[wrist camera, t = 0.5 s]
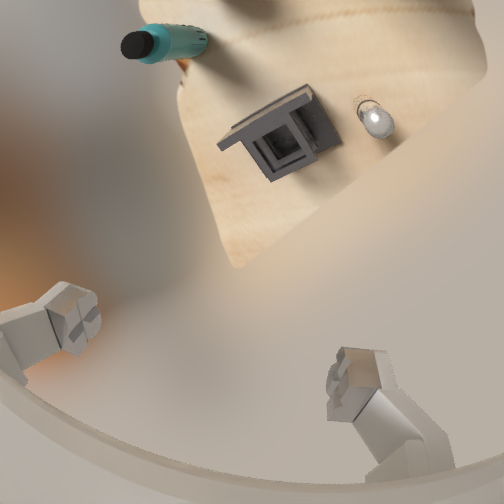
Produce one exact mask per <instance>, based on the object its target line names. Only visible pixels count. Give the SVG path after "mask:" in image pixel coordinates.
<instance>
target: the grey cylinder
mask: <svg viewBox="0 0 504 504" xmlns="http://www.w3.org/2000/svg"><path fill="white" fill-rule="evenodd" d="M353 107H354V110H355V112H356V113H357V115H358V117H359V119H360V120H361V121H362V123H363V125H364V126H365V128H366V130H367V131H368V133H369V134H370V135H371V136H373V137H375V138H378V139H383V138H386V137H388V136H390V135H391V133H392V132H393V130H394V121H393V119H392V117H391V116H390V115H389V114H388V113H387V112H386V111H385V110H384V109H383V108H382V107H381V106H380V105H379V104H378V103H377V102H375V101H374V100H373V99H372V98H370V97H369V96H366V95H360V96H358V97H356V98H355V100H354V102H353Z"/></svg>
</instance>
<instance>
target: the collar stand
mask: <svg viewBox="0 0 504 504" xmlns="http://www.w3.org/2000/svg"><path fill="white" fill-rule="evenodd" d="M231 128H232V129H231V130H230V131H229V132H228V133H227V134H226V135H225V136H224V137H223V138H222V139H221V140H220V141H219V142H218V143H217V146H218V147H219V148H220V150H221V151H224V150H225V149H227V148H229V147H230V146H232V145H233V144H235V143H237V142H238V141H241V142H242V143H243V145H244V146H245V148H246V149H247V150H248V152H249V153H250V155H251V156H252V157H253V159H254V160H255V162H256V163H257V165H258V166H259V168H260V169H261V170H262V172H263V173H264V175H265V176H266V178H268V179H269V180H270V182H273V181H275V180H277V179H279V178H281V177H283V176H285V175H288V174H290V173H292V172H294V171H296V170H298V169H300V168H302V167H304V166H306V165H308V164H311V163H313V162H315V161H317V160H318V157H317V155H316V154H317V153H319V152H321V151H323V150H325V149H327V148H329V147H332V146H334V145H336V144H338V143H340V142H341V140H340V138H339V136H338V134H337V132H336V131H335V129H334V127H333V125H332V123H331V122H330V120H329V118H328V117H327V115H326V113H325V111H324V110H323V108H322V106H321V105H320V103H319V102H318V100H317V98H316V97H315V95H314V93H313V92H312V90H311V89H310V87H309V86H308V84H305V85H303V86H301V87H299V88H297V89H295V90H293V91H292V92H290V93H288V94H286V95H284V96H282V97H280V98H279V99H277V100H275V101H273V102H272V103H270V104H268V105H266V106H265V107H263V108H261V109H259V110H258V111H256V112H254V113H253V114H251V115H249V116H248V117H246V118H245V119H243V120H241V121H240V122H238V123H236V124H235V125H233V126H232V127H231Z"/></svg>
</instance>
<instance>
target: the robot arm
mask: <svg viewBox="0 0 504 504" xmlns="http://www.w3.org/2000/svg"><path fill="white" fill-rule="evenodd" d="M97 303H98V300H97V296H96V294H95V293H94V292H92V291H90V290H87V289H84V288H81V287H79V286H76V285H73V284H70V283H67V282H65V281H61V282H59V283H58V284H56V285H55V286H54V287H53V288H51V289H50V290H49V291H48V292H47V293H45V294H44V295H43V296H42V297H41V298H40V299H39V300H37V301H36V302H35V303H32V302H31V303H28V304H25V305H21V306H18V307H15V308H12V309H9V310H6V311H3V312H0V504H504V453H502V454H499V455H497V456H494V457H492V458H488V459H486V460H483V461H480V462H476V463H473V464H470V465H467V466H463V467H460V468H455V463H454V459H453V454H452V450H451V446H450V442H449V439H448V435H447V434H446V433H445V432H444V431H443V430H442V429H441V428H440V427H439V426H438V425H437V424H436V423H435V422H434V421H433V420H432V419H431V418H430V417H429V416H428V415H427V414H426V413H425V412H424V411H423V410H422V409H421V408H420V407H419V406H418V405H417V404H416V403H415V402H414V401H413V400H412V399H411V398H410V397H409V396H408V395H407V394H406V393H405V392H404V391H403V390H402V389H398V387H397V384H396V380H395V376H394V373H393V369H392V365H391V362H390V359H389V356H388V353H387V352H386V351H383V350H369V349H359V348H349V347H341V348H340V349H339V351H338V353H337V356H336V358H337V362H336V363H334V364H333V365H332V366H331V368H330V370H329V373H328V377H327V383H326V392H327V394H328V395H329V396H330V399H329V401H328V403H327V420H328V421H338V422H351V423H353V426H354V427H355V428H356V430H357V432H358V433H359V435H360V436H361V438H362V439H363V441H364V442H365V444H366V445H367V447H368V448H369V450H370V451H371V453H372V454H373V456H374V457H375V459H376V460H377V462H378V463H379V465H378V466H377V467H376V468H374V469H373V470H372V471H370V472H369V473H368V474H367V475H366V476H365V483H355V484H310V483H292V482H282V481H272V480H264V479H256V478H250V477H244V476H238V475H232V474H228V473H223V472H218V471H214V470H209V469H205V468H201V467H197V466H193V465H190V464H186V463H183V462H179V461H176V460H172V459H169V458H166V457H163V456H160V455H157V454H154V453H152V452H149V451H146V450H143V449H140V448H138V447H135V446H133V445H130V444H128V443H126V442H123V441H120V440H118V439H116V438H114V437H111V436H109V435H107V434H105V433H103V432H101V431H99V430H97V429H94V428H92V427H90V426H88V425H86V424H84V423H83V422H81V421H79V420H77V419H75V418H73V417H71V416H70V415H68V414H66V413H64V412H63V411H61V410H59V409H57V408H56V407H54V406H52V405H51V404H49V403H48V402H46V401H44V400H43V399H41V398H40V397H38V396H37V395H35V394H34V393H32V392H31V391H29V390H28V389H26V388H25V386H26V385H27V383H28V379H27V378H26V376H25V375H24V372H23V370H25V369H27V368H29V367H30V366H32V365H34V364H36V363H38V362H40V361H42V360H44V359H46V358H47V357H49V356H51V355H53V354H55V353H57V352H59V351H61V349H62V350H64V351H67V352H69V353H71V354H73V355H75V356H80V354H81V353H82V352H83V350H84V349H85V348H86V347H87V345H88V339H90V338H92V337H95V335H96V334H97V333H98V331H99V329H100V326H101V315H100V311H99V310H98V308H97V307H96V304H97Z"/></svg>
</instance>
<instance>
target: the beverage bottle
mask: <svg viewBox="0 0 504 504" xmlns="http://www.w3.org/2000/svg"><path fill="white" fill-rule="evenodd" d="M207 42H208V38H207V35H206V33H205V31H203V30H202V29H200V27H199V28H198V27H193V26H189V25H188V26H185V25H171V24H170V25H169V24H166V23H165V24H163V23H162V24H149V25H146V26H144V27H142V28H141V29H140V30H139V31H136V32H131V33H129V34H128V35H126V36H125V37H124V39H123V40H122V43H121V52H122V54H123V55H124V56H125V57H126V58H128V59H137V60H139V61H140V62H142V63H145V64H153V63H157V62H162V61H167V60H175V59H177V60H178V59H183V58H186V59H187V58H188V59H189V58H190V57H195V56H197V55H199V54H201V53H202V52H203V51H204V50H205V48H206V46H207Z"/></svg>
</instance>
